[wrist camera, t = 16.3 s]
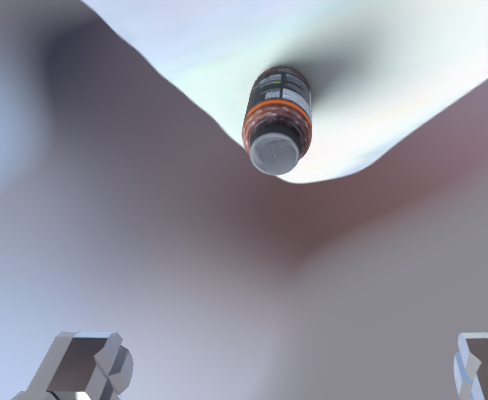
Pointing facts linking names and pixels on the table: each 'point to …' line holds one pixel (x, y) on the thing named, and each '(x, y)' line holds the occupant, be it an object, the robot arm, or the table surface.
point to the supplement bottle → (278, 121)
